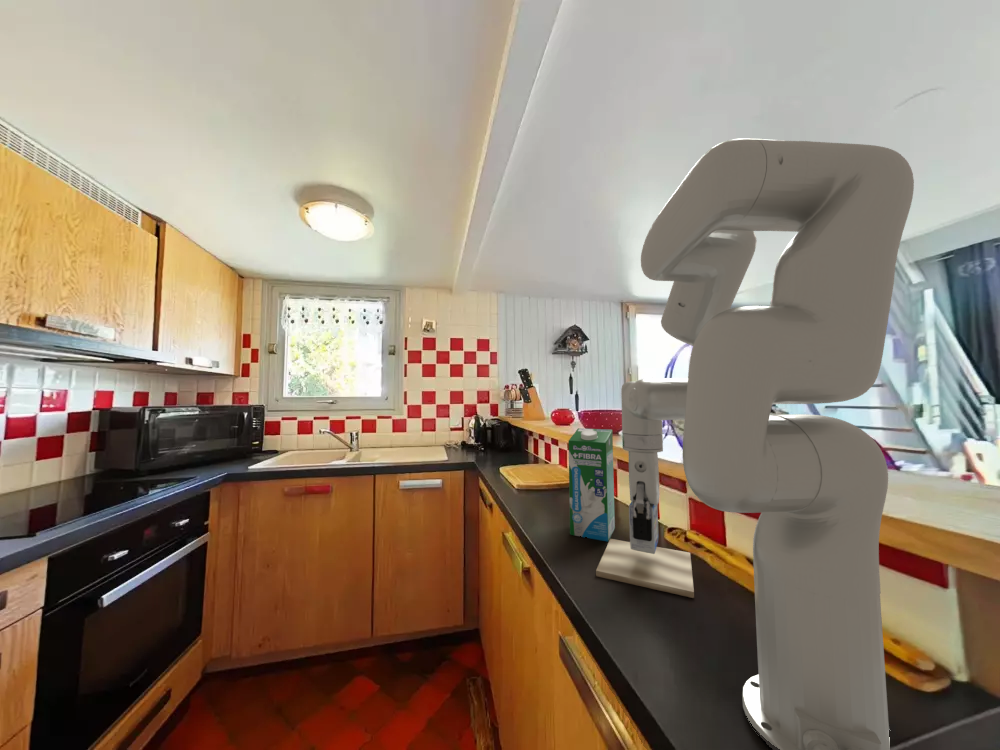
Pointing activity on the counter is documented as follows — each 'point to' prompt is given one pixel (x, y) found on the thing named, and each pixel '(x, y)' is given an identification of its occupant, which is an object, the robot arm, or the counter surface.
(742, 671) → the counter surface
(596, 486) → the milk carton
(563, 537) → the counter surface
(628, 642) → the counter surface
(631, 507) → the medicine box
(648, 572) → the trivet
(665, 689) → the counter surface
